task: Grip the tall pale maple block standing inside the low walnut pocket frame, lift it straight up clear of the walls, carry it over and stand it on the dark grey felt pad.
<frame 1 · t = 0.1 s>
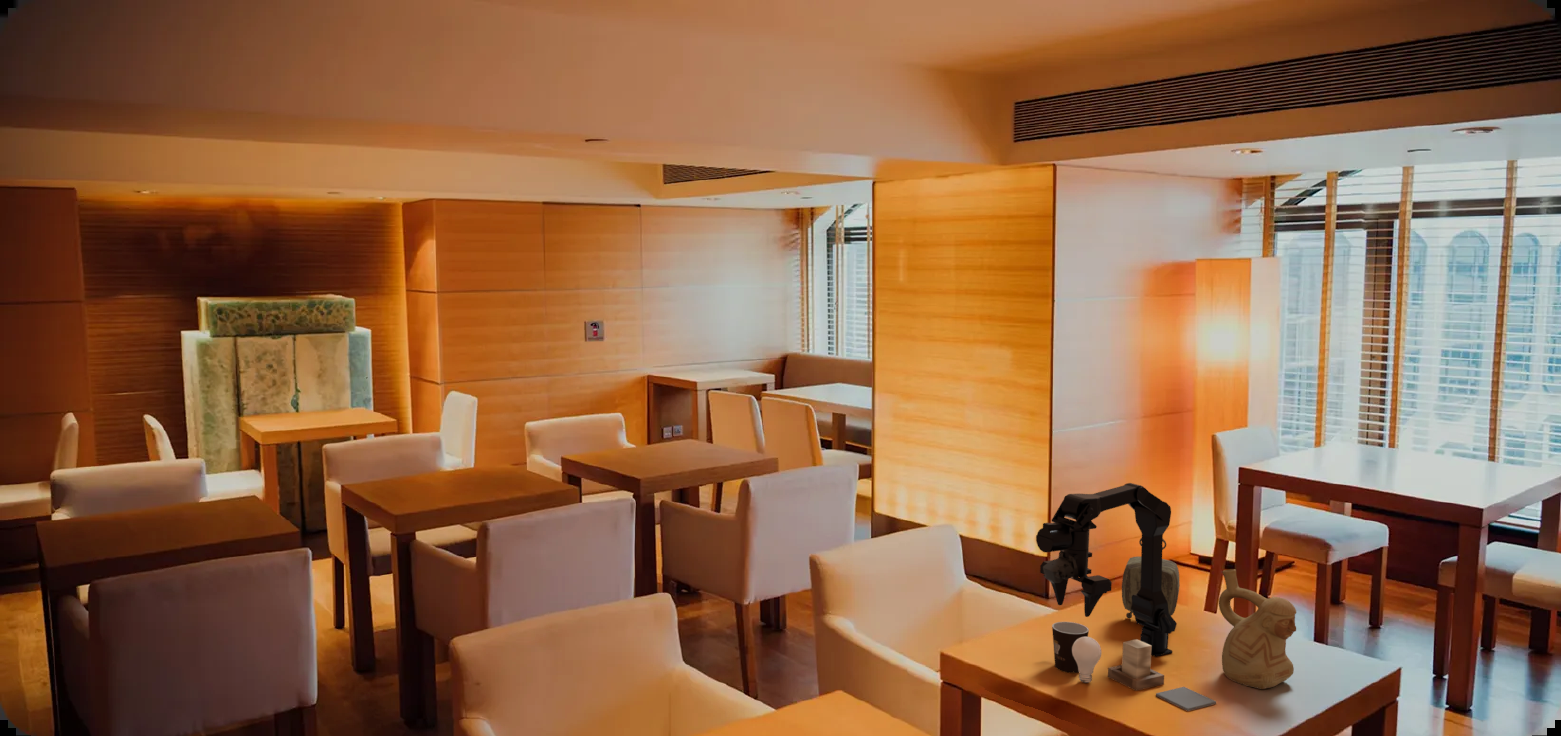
hand: (1073, 610, 247), 15 cm above the table, tool pointing down, fingers open, 9 cm apart
coffee mug: (1068, 665, 251), on the table
tabletop clock: (1148, 625, 281), on the table
light bulb: (1085, 683, 240), on the table
maple block: (1136, 662, 241), in the pocket frame
pocket frame: (1135, 680, 242), on the table
ceramic vessel: (1253, 679, 244), on the table
felt pad: (1185, 699, 231), on the table
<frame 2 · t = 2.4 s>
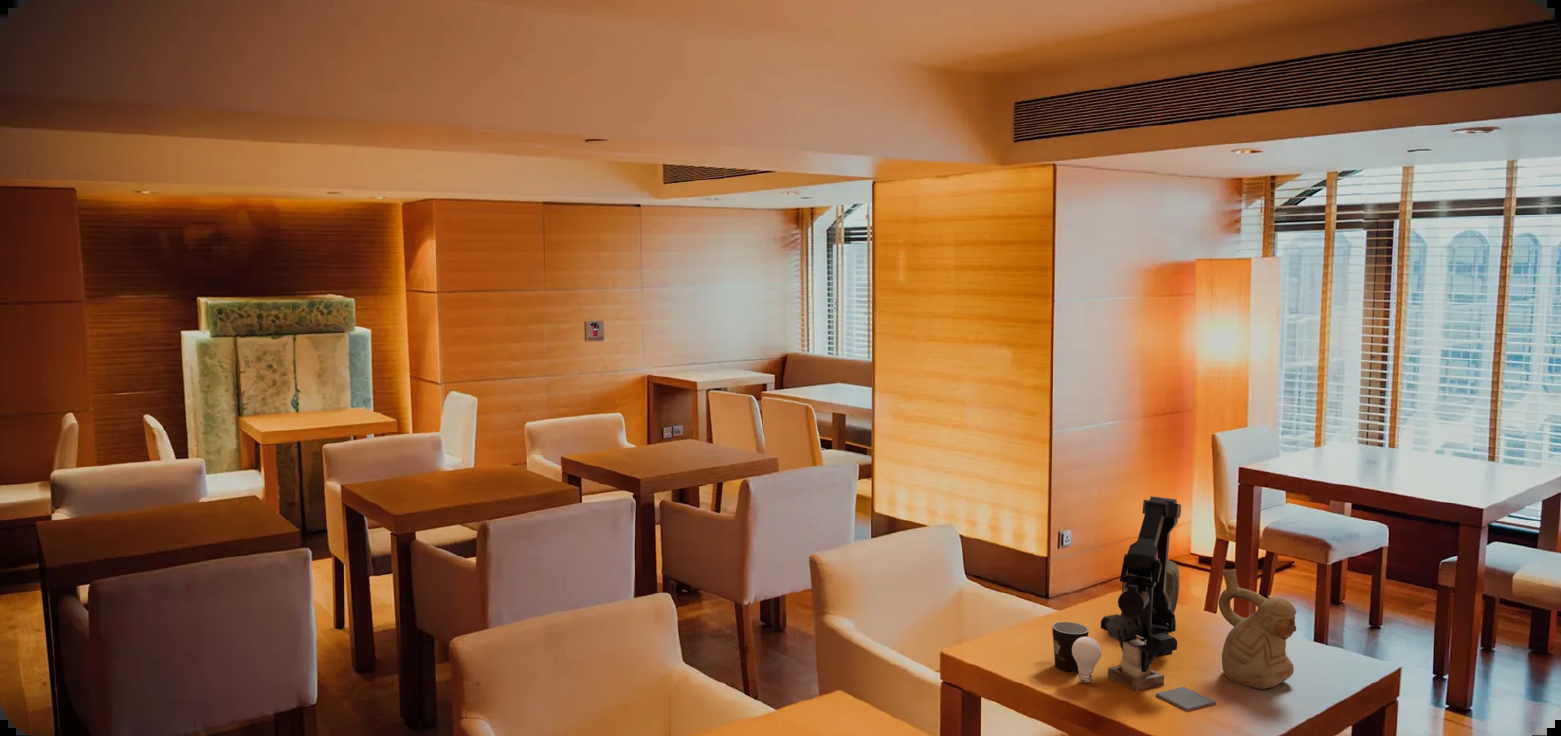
hand: (1136, 667, 241), 3 cm above the table, tool pointing down, fingers closed on maple block, 4 cm apart
maple block: (1136, 662, 241), in the pocket frame, touching gripper
everything else where it was.
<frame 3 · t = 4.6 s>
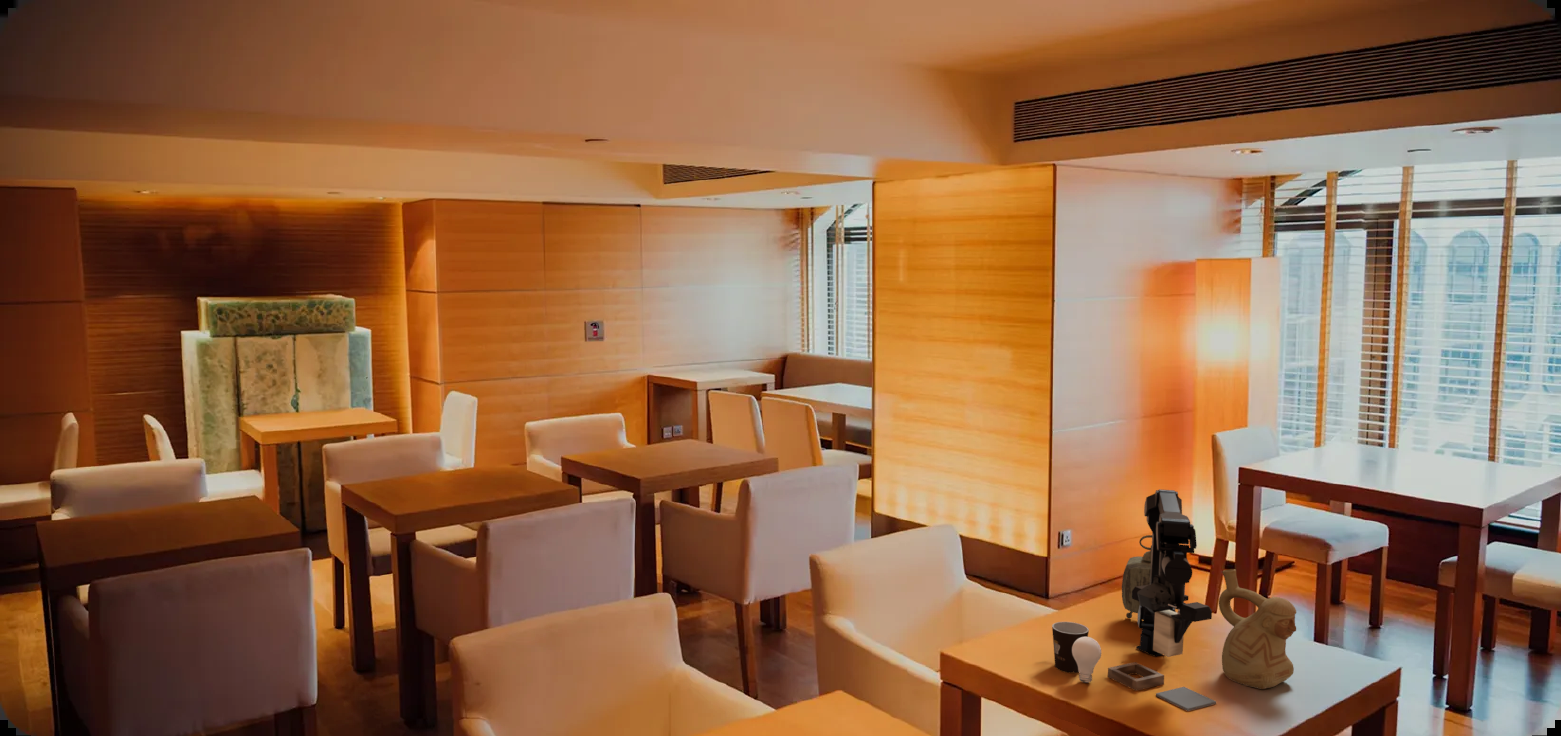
hand: (1168, 639, 234), 13 cm above the table, tool pointing down, fingers closed on maple block, 4 cm apart
maple block: (1168, 632, 233), point 14 cm above the table, touching gripper
everything else where it was.
when the fingers open (4 cm above the table, at t = 6.7 s): maple block stays where it is, resting on felt pad.
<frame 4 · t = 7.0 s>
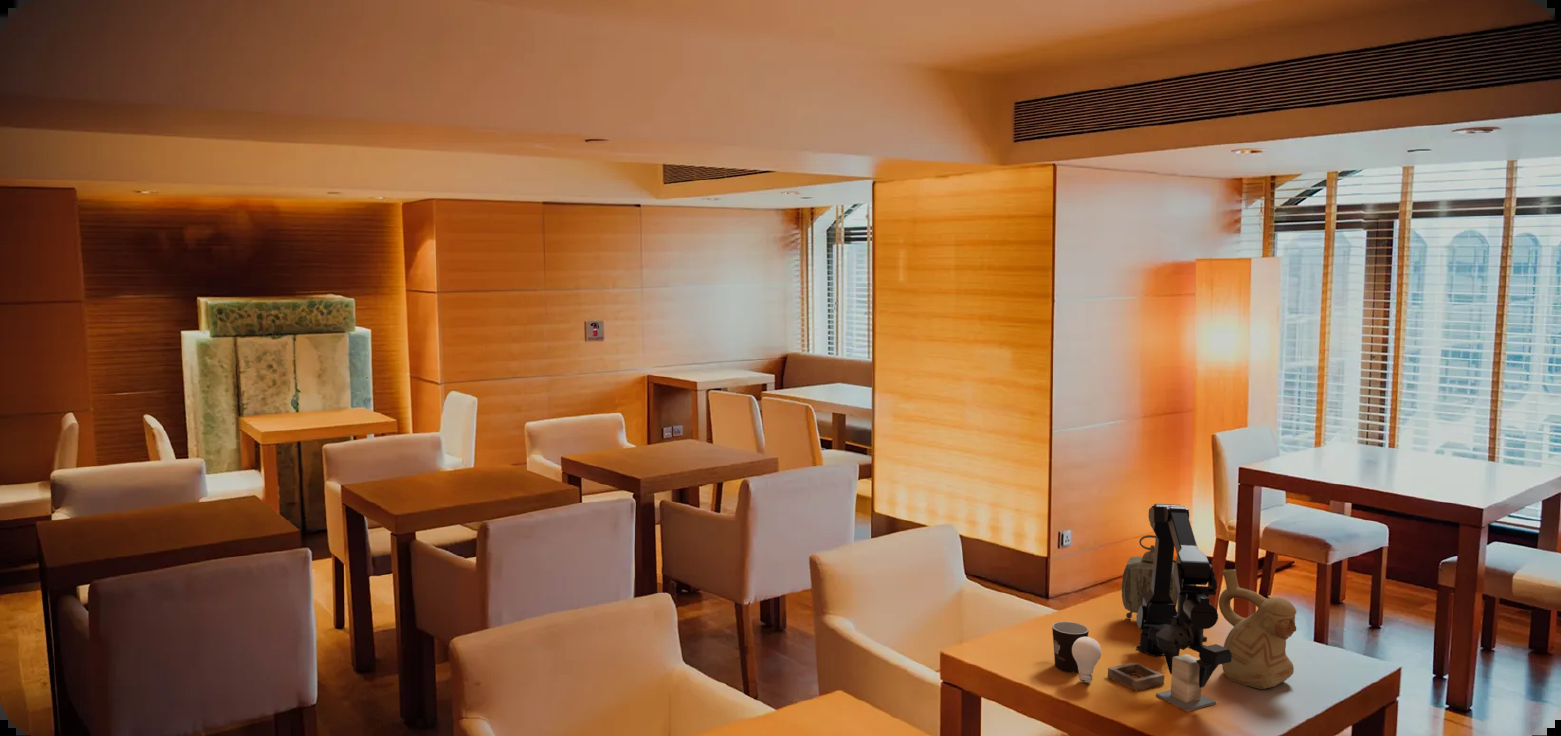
hand: (1186, 680, 231), 4 cm above the table, tool pointing down, fingers open, 8 cm apart
maple block: (1186, 677, 231), on the felt pad, point 5 cm above the table
everything else where it was.
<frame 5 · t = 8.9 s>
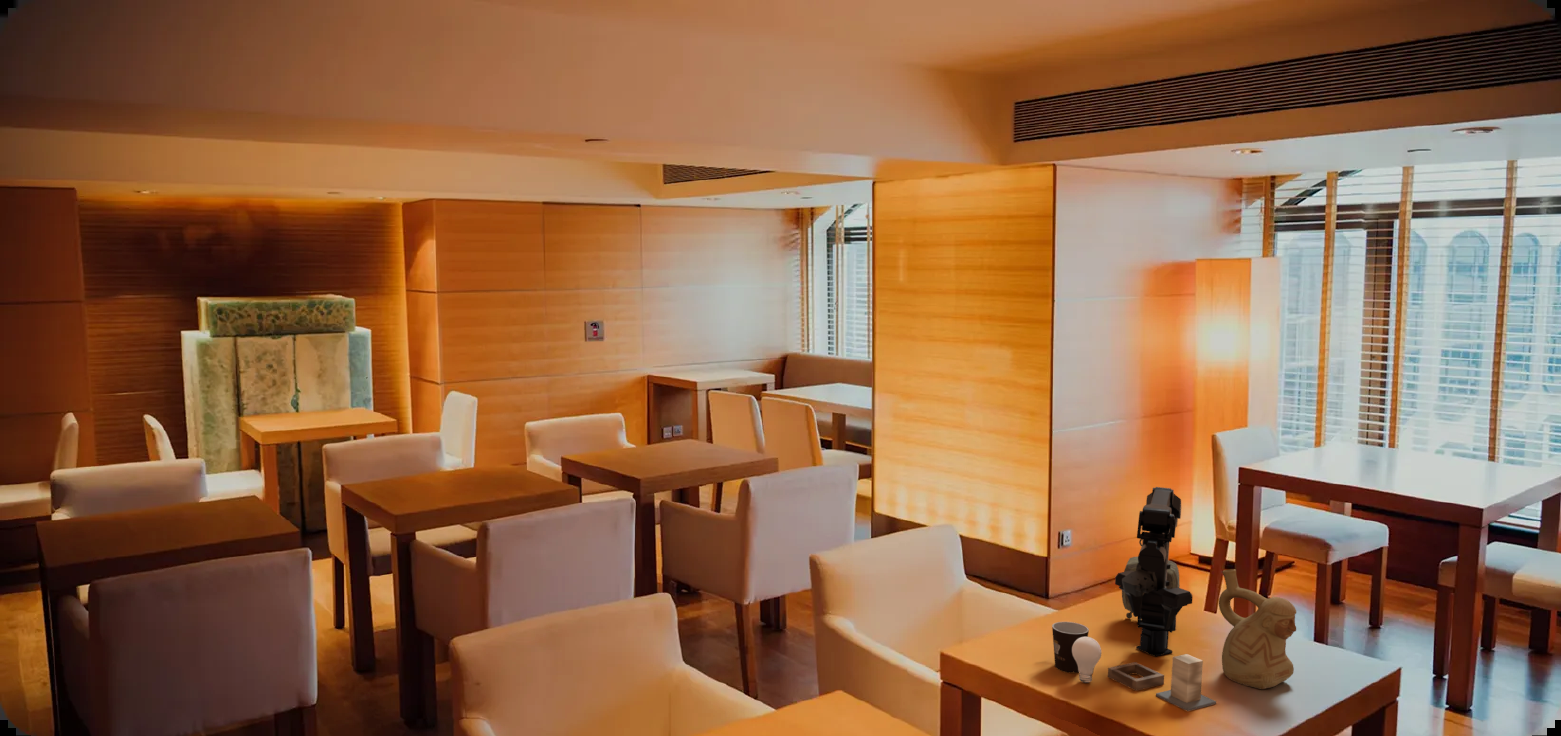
hand: (1151, 622, 245), 13 cm above the table, tool pointing down, fingers open, 9 cm apart
nothing on the table moved.
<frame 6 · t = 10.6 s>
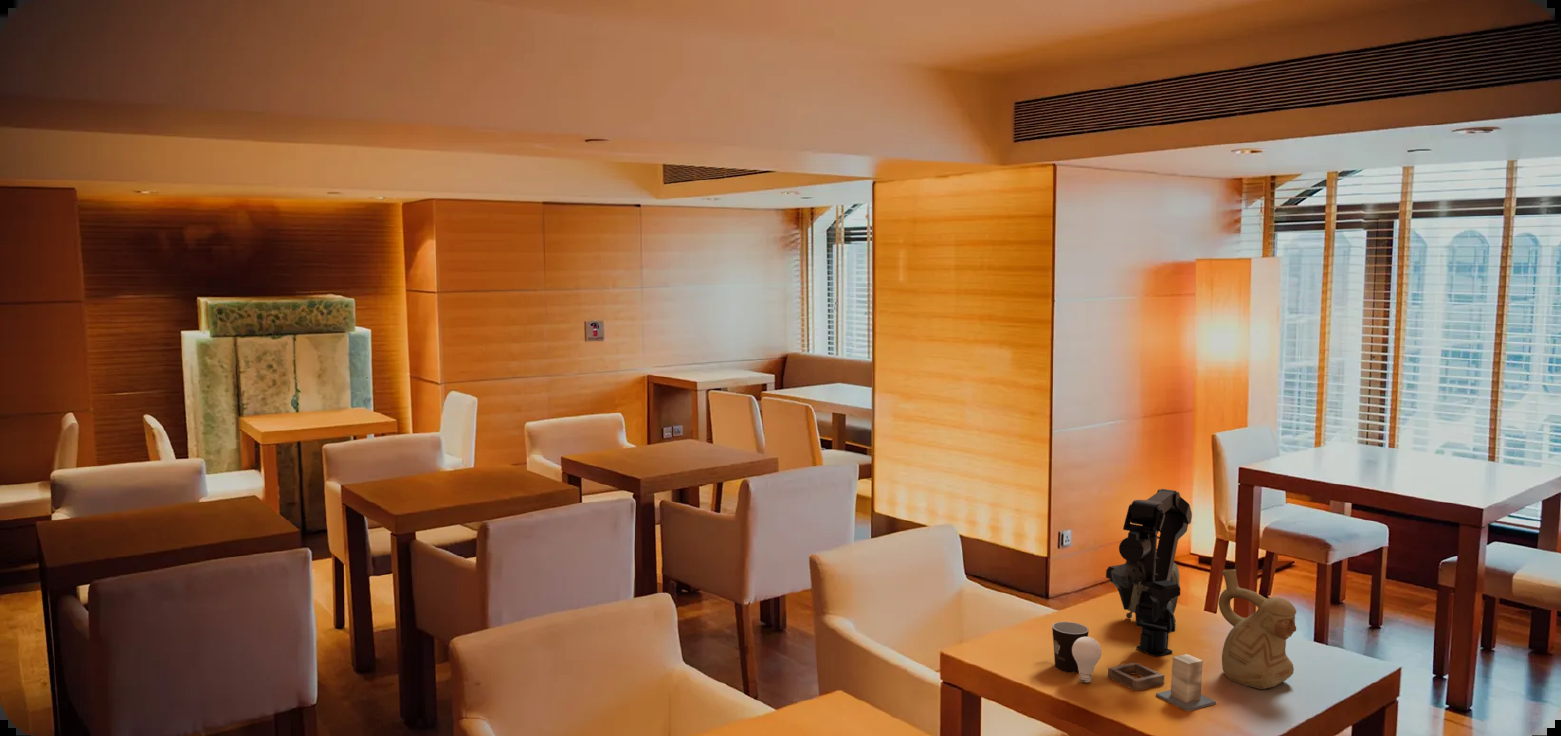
hand: (1140, 615, 249), 13 cm above the table, tool pointing down, fingers open, 9 cm apart
nothing on the table moved.
at the end: maple block inside the target area on the felt pad (0.0 cm from its centre), point 5.1 cm above the felt pad's base; maple block touching felt pad; maple block tilted 0° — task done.
